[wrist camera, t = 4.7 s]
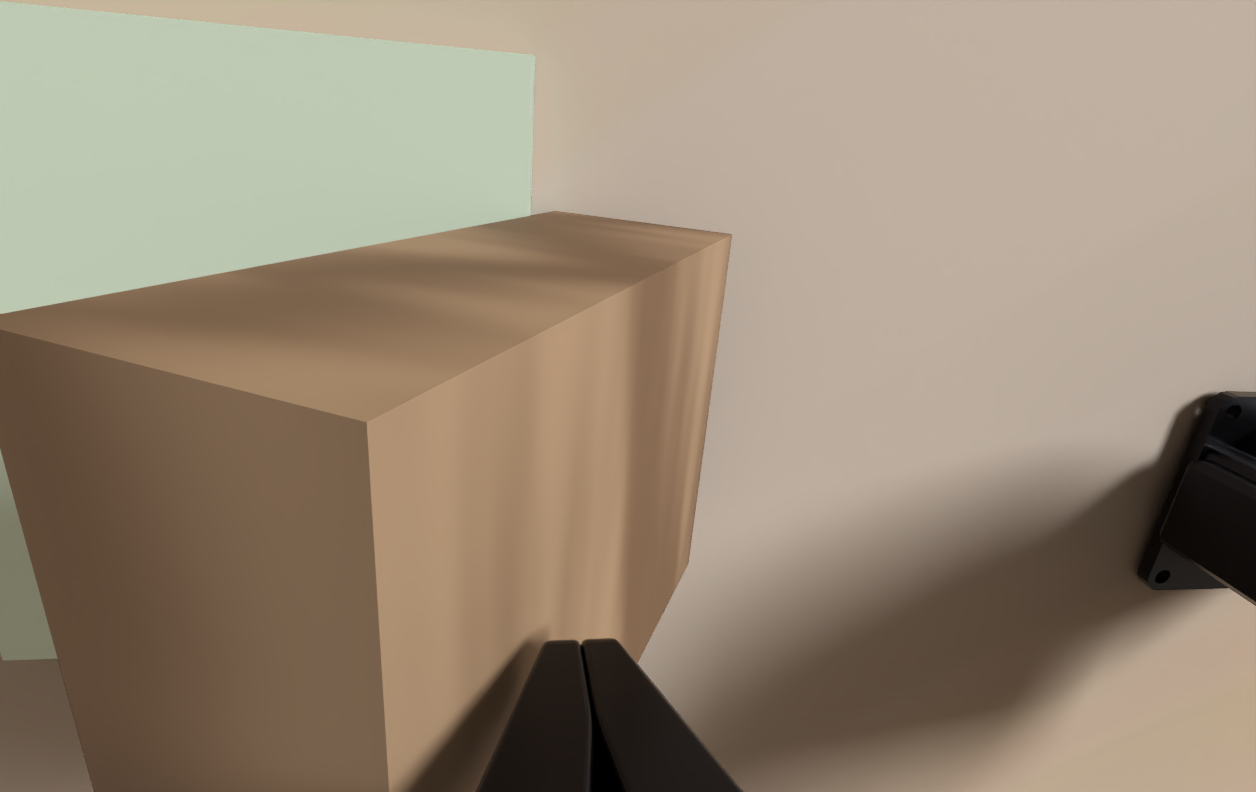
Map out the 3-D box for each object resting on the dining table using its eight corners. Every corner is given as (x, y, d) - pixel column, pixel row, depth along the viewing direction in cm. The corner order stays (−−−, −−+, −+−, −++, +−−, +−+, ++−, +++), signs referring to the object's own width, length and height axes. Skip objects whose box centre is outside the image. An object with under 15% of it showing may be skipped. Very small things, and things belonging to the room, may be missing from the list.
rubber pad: (533, 59, 14) (535, 55, 13) (518, 616, 19) (518, 641, 18) (-154, -10, 12) (-209, -20, 11) (29, 631, 17) (2, 660, 16)
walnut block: (731, 233, 14) (367, 422, 5) (688, 563, 17) (408, 1108, 7) (554, 211, 15) (-36, 320, 6) (542, 523, 18) (135, 947, 9)
